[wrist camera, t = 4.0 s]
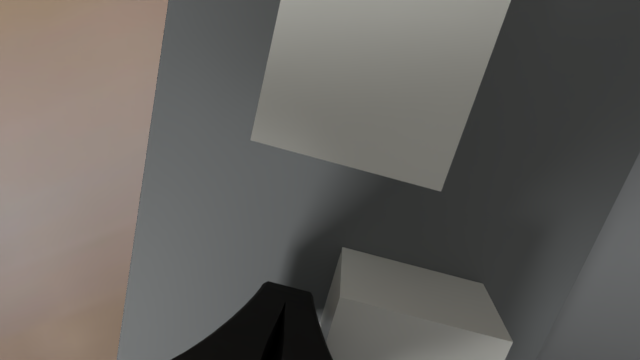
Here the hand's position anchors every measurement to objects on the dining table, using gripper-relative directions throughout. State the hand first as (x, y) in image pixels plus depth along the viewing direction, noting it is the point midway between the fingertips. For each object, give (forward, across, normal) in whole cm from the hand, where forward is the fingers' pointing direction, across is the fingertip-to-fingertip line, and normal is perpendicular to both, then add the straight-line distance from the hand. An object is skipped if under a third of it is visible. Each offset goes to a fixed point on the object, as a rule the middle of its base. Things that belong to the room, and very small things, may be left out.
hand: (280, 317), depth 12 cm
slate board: (+3, -2, -4) cm, 5 cm away
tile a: (+1, -3, 0) cm, 3 cm away
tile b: (+1, 0, -7) cm, 7 cm away
